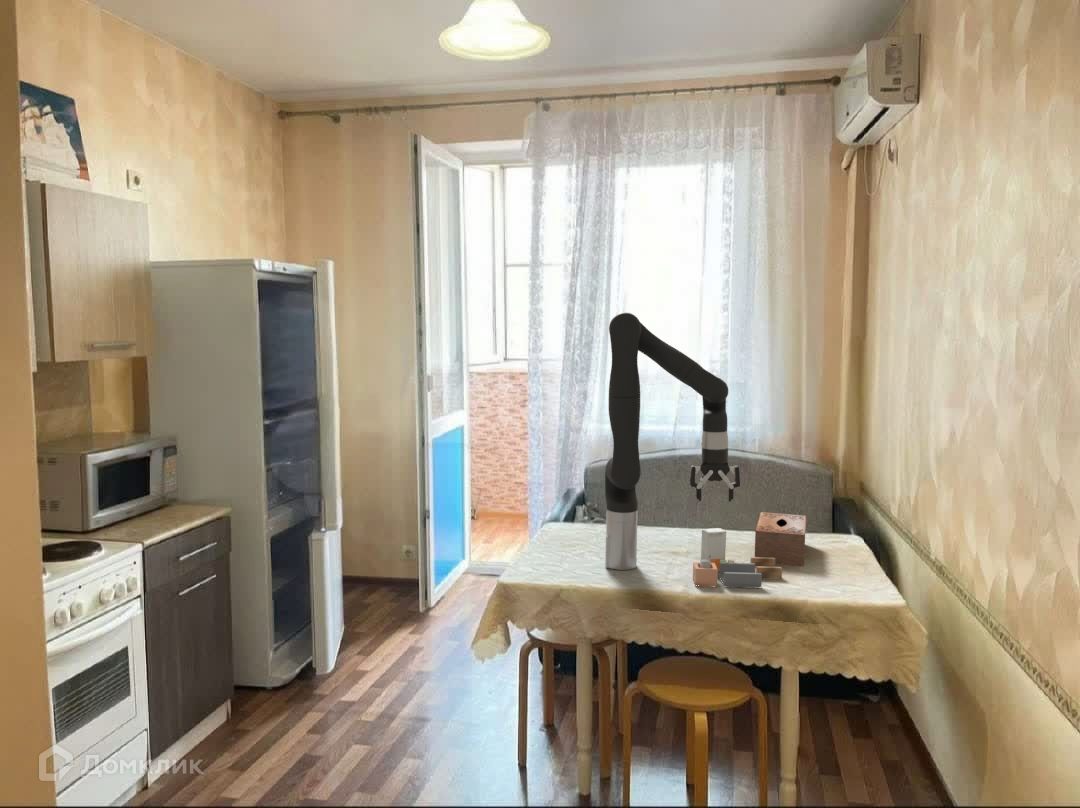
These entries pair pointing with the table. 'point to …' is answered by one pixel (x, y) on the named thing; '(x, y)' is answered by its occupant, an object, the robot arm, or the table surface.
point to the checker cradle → (739, 574)
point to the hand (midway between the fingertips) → (714, 500)
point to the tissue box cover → (781, 538)
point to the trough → (767, 567)
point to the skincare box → (713, 545)
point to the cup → (705, 573)
